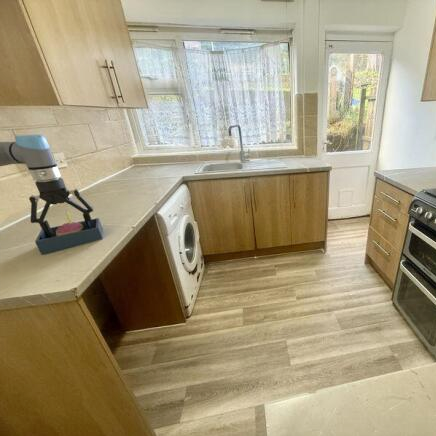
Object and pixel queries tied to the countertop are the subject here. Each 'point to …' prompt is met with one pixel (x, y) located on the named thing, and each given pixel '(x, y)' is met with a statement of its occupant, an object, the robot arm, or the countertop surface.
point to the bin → (69, 237)
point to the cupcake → (69, 227)
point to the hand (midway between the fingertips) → (71, 232)
